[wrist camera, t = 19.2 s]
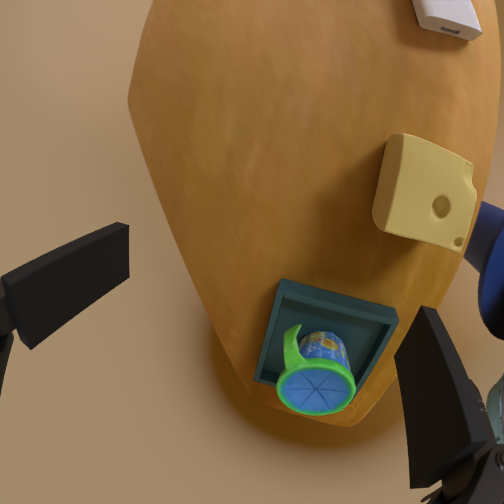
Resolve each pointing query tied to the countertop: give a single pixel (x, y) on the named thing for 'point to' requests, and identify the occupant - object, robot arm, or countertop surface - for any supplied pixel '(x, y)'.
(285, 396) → the snack cup
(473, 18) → the charger
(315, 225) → the countertop surface
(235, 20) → the countertop surface
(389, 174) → the cheese
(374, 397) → the countertop surface
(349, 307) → the tray
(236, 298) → the countertop surface
